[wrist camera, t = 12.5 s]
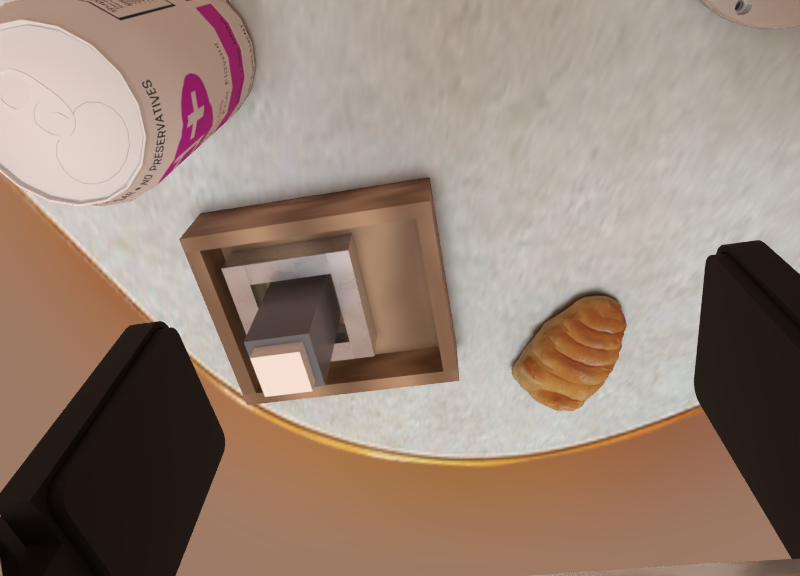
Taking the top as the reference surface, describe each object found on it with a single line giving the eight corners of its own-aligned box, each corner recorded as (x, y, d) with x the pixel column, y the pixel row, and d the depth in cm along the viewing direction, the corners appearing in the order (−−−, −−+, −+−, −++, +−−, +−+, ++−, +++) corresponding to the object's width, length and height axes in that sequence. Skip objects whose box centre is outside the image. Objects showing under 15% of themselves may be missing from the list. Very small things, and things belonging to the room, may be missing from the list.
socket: (352, 233, 40) (348, 250, 37) (377, 335, 44) (374, 356, 42) (231, 251, 41) (221, 268, 38) (267, 349, 45) (259, 370, 43)
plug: (341, 314, 43) (322, 396, 35) (288, 321, 43) (259, 404, 36) (327, 267, 41) (305, 343, 33) (273, 275, 41) (239, 352, 34)
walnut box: (429, 177, 38) (430, 201, 35) (456, 347, 45) (459, 380, 42) (200, 213, 40) (179, 239, 37) (260, 371, 47) (247, 404, 44)
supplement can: (284, 44, 34) (200, 106, 22) (213, 148, 38) (104, 255, 25) (161, -58, 32) (-15, -57, 19) (97, 63, 35) (-90, 133, 23)
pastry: (564, 275, 42) (577, 303, 39) (644, 306, 43) (663, 336, 40) (504, 369, 47) (511, 401, 43) (578, 394, 48) (590, 428, 45)
